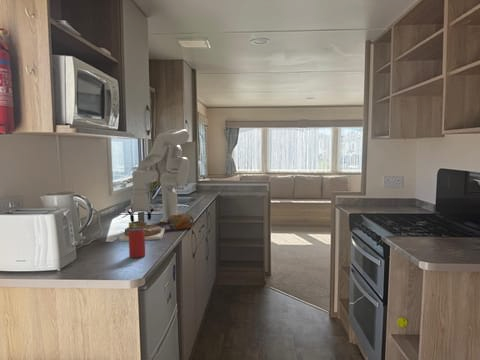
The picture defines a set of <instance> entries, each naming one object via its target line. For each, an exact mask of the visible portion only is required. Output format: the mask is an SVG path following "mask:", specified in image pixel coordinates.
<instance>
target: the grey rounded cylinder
mask: <svg viewBox="0 0 480 360" xmlns="http://www.w3.org/2000/svg"><path fill="white" fill-rule="evenodd" d="M137 221H144V222H146V221H145V211H140V212H137Z"/></svg>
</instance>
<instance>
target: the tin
mask: <svg viewBox="0 0 480 360" xmlns="http://www.w3.org/2000/svg"><path fill="white" fill-rule="evenodd" d="M193 224H194V217H193V216H192V215H191V214H187V213H183V214H178V215H172V216H170V217H169V219H168V223H167V226H168V227H169V228H170V229H171V230H184V229H185V230H186V229H190V228H191V227H192V226H193Z"/></svg>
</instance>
